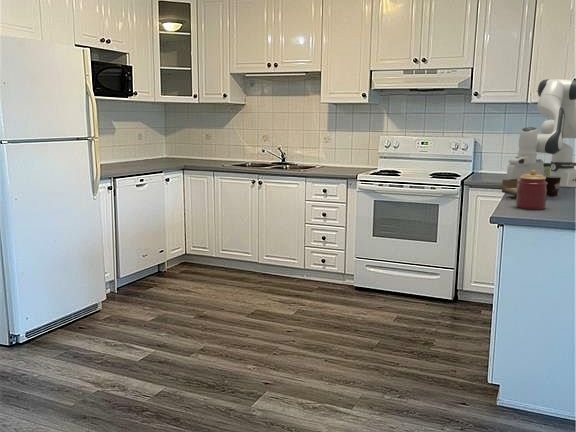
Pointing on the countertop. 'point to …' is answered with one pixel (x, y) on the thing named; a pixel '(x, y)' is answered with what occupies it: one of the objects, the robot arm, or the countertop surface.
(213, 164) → the countertop surface
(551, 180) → the coffee mug
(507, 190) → the lid
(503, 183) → the open wooden box
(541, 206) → the canister
